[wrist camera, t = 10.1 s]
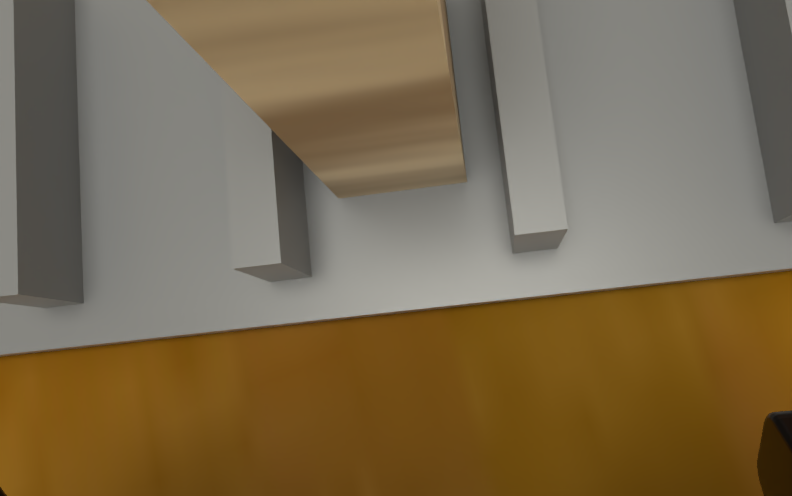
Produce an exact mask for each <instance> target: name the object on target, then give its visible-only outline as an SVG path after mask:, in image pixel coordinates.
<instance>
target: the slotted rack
mask: <svg viewBox="0 0 792 496" xmlns="http://www.w3.org/2000/svg"><path fill="white" fill-rule="evenodd" d="M446 7H447V15H448V24H449V32H450V41H451V49H452V58H453V66H454V75H455V83H456V92H457V100H458V109H459V117H460V126H461V134H462V143H463V151H464V160H465V168H466V177H467V182H465V183H457V184H449V185H441V186H433V187H426V188H418V189H410V190H402V191H394V192H387V193H379V194H371V195H363V196H355V197H348V198H340V199H339V198H338V197H337V196H336V195H335V194H334V193H333V192H332V191H331V190H330V189H329V188H328V187H327V186H326V185H325V184H324V183H323V182H322V181H321V180H320V179H319V178H318V177H317V176H316V175H315V174H314V173H313V172H312V171H311V170H310V169H309V167H308V166H307V165H306V164H305V163H304V162H303V161H302V160H301V159H300V158H299V157H298V156H297V155H296V154H295V153H294V152H293V151H292V150H291V149H290V148H289V147H288V146H287V145H286V144H285V143H284V142H283V141H282V140H281V139H280V138H279V137H278V136H277V135H276V133H275V132H274V131H273V130H272V129H271V128H270V127H269V126H268V125H267V124H266V123H265V122H264V121H263V120H262V119H261V118H260V117H259V116H258V115H257V114H256V113H255V112H254V111H253V110H252V109H251V108H250V107H249V106H248V105H247V104H246V103H245V102H244V101H243V99H242V98H241V97H240V96H239V95H238V94H237V93H236V92H235V91H234V90H233V89H232V88H231V87H230V86H229V85H228V84H227V83H226V82H225V81H224V80H223V79H222V78H221V77H220V76H219V75H218V74H217V73H216V72H215V71H214V70H213V69H212V68H211V67H210V65H209V64H208V63H207V62H206V61H205V60H204V59H203V58H202V57H201V56H200V55H199V54H198V53H197V52H196V51H195V50H194V49H193V48H192V47H191V46H190V45H189V44H188V43H187V42H186V41H185V40H184V39H183V38H182V37H181V36H180V35H179V34H178V32H177V31H176V30H175V29H174V28H173V27H172V26H171V25H170V24H169V23H168V22H167V21H166V20H165V19H164V18H163V17H162V16H161V15H160V14H159V13H158V12H157V11H156V10H155V9H154V8H153V7H152V6H151V5H150V4H149V3H148V2H147V1H146V0H0V357H2V356H12V355H21V354H30V353H39V352H48V351H57V350H67V349H76V348H85V347H94V346H103V345H113V344H122V343H131V342H140V341H149V340H158V339H168V338H177V337H186V336H195V335H204V334H214V333H223V332H232V331H241V330H250V329H259V328H269V327H278V326H287V325H296V324H305V323H314V322H324V321H333V320H342V319H351V318H360V317H370V316H379V315H388V314H397V313H406V312H415V311H425V310H434V309H443V308H452V307H461V306H471V305H480V304H489V303H498V302H507V301H516V300H526V299H535V298H544V297H553V296H562V295H571V294H581V293H590V292H599V291H608V290H617V289H627V288H636V287H645V286H654V285H663V284H672V283H682V282H691V281H700V280H709V279H718V278H728V277H737V276H746V275H755V274H764V273H773V272H783V271H792V0H446Z"/></svg>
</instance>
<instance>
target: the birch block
mask: <svg viewBox="0 0 792 496" xmlns="http://www.w3.org/2000/svg"><path fill="white" fill-rule="evenodd" d="M146 1H147V2H148V3H149V4H150V5H151V6H152V7H153V8H154V9H155V10H156V11H157V12H158V13H159V14H160V15H161V16H162V17H163V18H164V19H165V20H166V21H167V22H168V23H169V24H170V25H171V26H172V27H173V28H174V29H175V30H176V31H177V32H178V34H179V35H180V36H181V37H182V38H183V39H184V40H185V41H186V42H187V43H188V44H189V45H190V46H191V47H192V48H193V49H194V50H195V51H196V52H197V53H198V54H199V55H200V56H201V57H202V58H203V59H204V60H205V61H206V62H207V63H208V64H209V65H210V67H211V68H212V69H213V70H214V71H215V72H216V73H217V74H218V75H219V76H220V77H221V78H222V79H223V80H224V81H225V82H226V83H227V84H228V85H229V86H230V87H231V88H232V89H233V90H234V91H235V92H236V93H237V94H238V95H239V96H240V97H241V98H242V99H243V101H244V102H245V103H246V104H247V105H248V106H249V107H250V108H251V109H252V110H253V111H254V112H255V113H256V114H257V115H258V116H259V117H260V118H261V119H262V120H263V121H264V122H265V123H266V124H267V125H268V126H269V127H270V128H271V129H272V130H273V131H274V132H275V133H276V135H277V136H278V137H279V138H280V139H281V140H282V141H283V142H284V143H285V144H286V145H287V146H288V147H289V148H290V149H291V150H292V151H293V152H294V153H295V154H296V155H297V156H298V157H299V158H300V159H301V160H302V161H303V162H304V163H305V164H306V165H307V166H308V167H309V169H310V170H311V171H312V172H313V173H314V174H315V175H316V176H317V177H318V178H319V179H320V180H321V181H322V182H323V183H324V184H325V185H326V186H327V187H328V188H329V189H330V190H331V191H332V192H333V193H334V194H335V195H336V196H337V197H338V198H339V199H340V198H348V197H355V196H363V195H371V194H379V193H387V192H394V191H402V190H410V189H418V188H426V187H433V186H441V185H449V184H457V183H465V182H467V177H466V168H465V160H464V151H463V143H462V134H461V126H460V117H459V109H458V100H457V92H456V83H455V75H454V66H453V58H452V49H451V41H450V32H449V24H448V15H447V7H446V0H146Z"/></svg>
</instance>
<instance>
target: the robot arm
mask: <svg viewBox="0 0 792 496" xmlns="http://www.w3.org/2000/svg"><path fill="white" fill-rule="evenodd" d="M757 468H758V476H759V480H760V484H761V487H762V491H763V494H764V496H792V411H781V412H773V413H770V414H769V415H768V416H767V417H766V419H765V422H764V426H763V432H762V437H761V443H760V448H759V454H758V460H757ZM0 496H7V495H6V494H5V493H4V491H3V490H2V489H1V487H0Z"/></svg>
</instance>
